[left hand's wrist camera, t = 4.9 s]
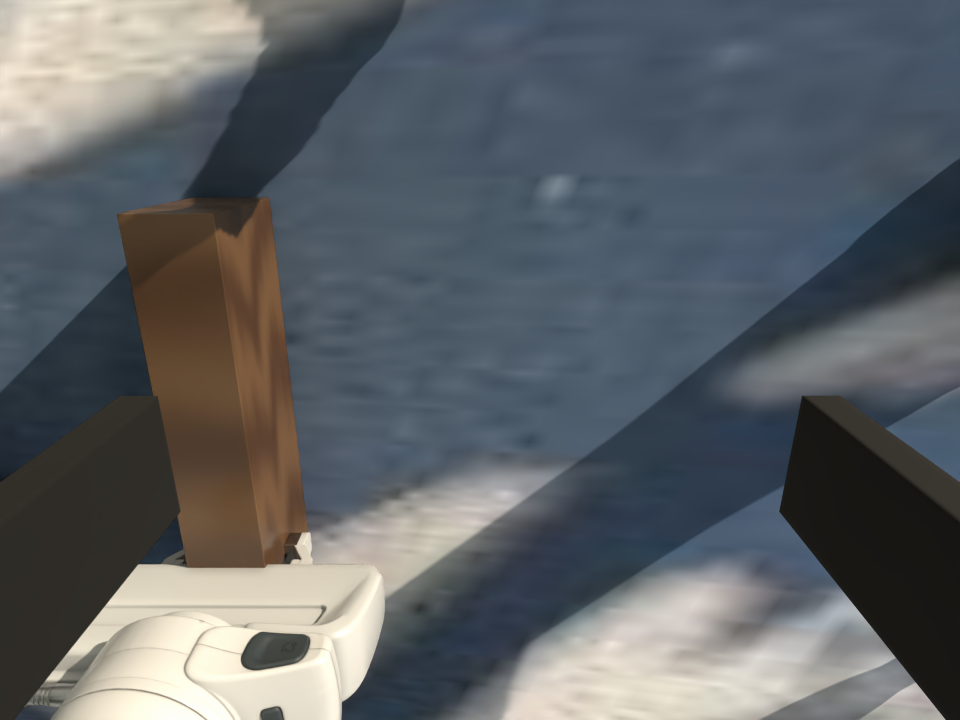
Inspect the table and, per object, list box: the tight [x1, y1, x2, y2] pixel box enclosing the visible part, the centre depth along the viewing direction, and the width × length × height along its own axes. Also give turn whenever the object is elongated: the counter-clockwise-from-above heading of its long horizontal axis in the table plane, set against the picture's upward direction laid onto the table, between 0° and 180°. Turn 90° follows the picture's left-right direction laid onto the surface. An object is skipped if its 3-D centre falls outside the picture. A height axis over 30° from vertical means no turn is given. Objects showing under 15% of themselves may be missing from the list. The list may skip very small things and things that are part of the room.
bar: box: [117, 198, 308, 568], centre depth 40 cm, size 28×5×9 cm, turn 0°
